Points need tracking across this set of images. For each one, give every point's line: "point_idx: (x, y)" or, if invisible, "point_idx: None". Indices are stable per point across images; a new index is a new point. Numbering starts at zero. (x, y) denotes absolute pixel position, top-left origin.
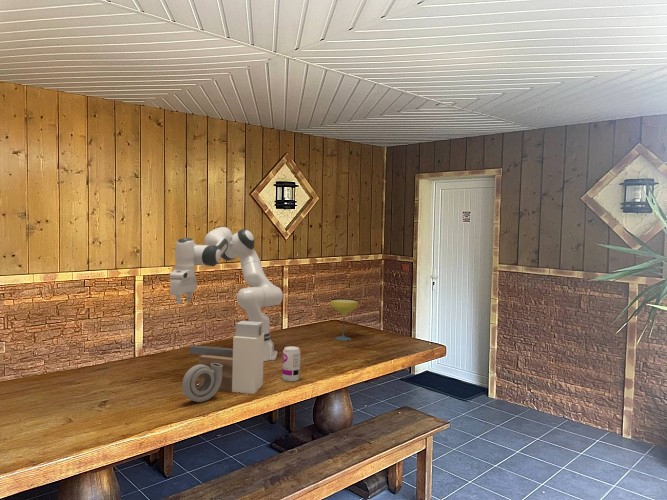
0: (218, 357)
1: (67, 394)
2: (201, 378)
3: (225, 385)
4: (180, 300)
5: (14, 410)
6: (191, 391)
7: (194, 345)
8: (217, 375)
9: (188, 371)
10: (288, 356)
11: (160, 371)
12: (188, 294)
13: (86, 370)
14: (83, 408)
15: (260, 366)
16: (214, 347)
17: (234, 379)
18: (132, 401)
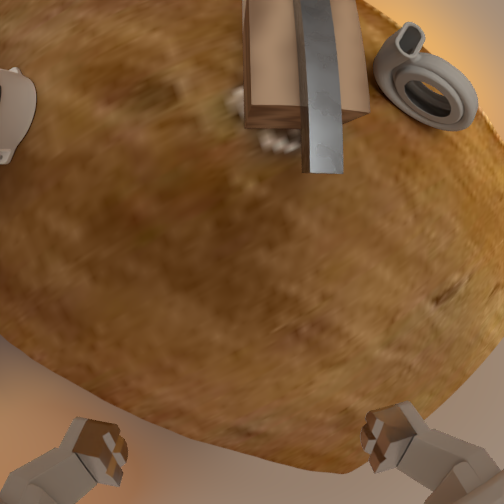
0: (346, 41)
1: (406, 380)
2: None
3: None
4: (429, 429)
5: (459, 381)
6: (445, 107)
7: (312, 162)
8: (409, 43)
9: (475, 111)
10: None
11: (211, 317)
12: (67, 498)
13: (265, 444)
14: (463, 308)
15: None
16: (314, 56)
17: None
18: (435, 248)
